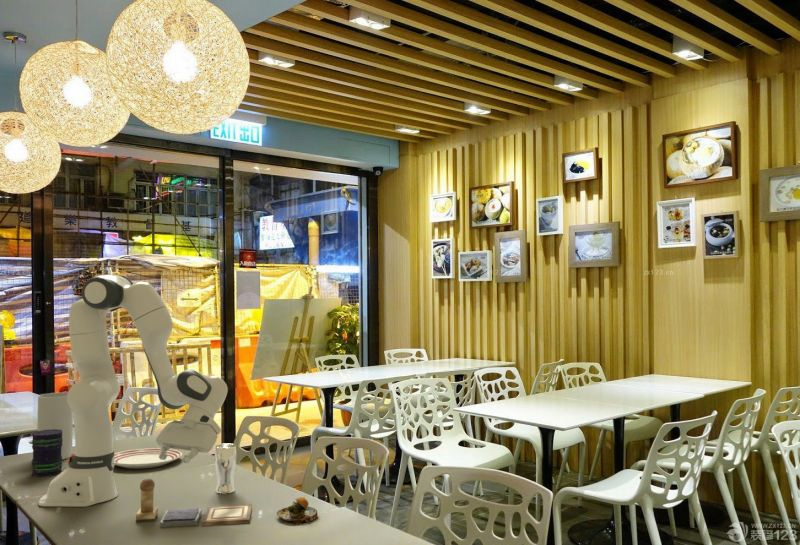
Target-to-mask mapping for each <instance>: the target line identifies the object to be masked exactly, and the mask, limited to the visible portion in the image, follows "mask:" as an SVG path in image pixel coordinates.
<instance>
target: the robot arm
mask: <svg viewBox="0 0 800 545" xmlns="http://www.w3.org/2000/svg"><path fill="white" fill-rule="evenodd" d="M122 308H123V309H124V310H126V312H127V313H128V314H129V316H130V318H131V320H132V323H133V325H134V327H135V328H136V330H137V333H138V336H139V338H140V341H141V345H142V348H143V351H144V355H145V356H146V360H147V362H148V365H149V367H150V369H151V372H152V374H153V378H154V379H155V382H156V386H157V388H156V389H157V396H158V400H159V402H160V403H161V405H163V406H164V407H165V408H166V409H170V410H178V409H181V408H183V407H184V406H186V405H188V408H187V410H186V411H185V413H184V414H183V416H182V418H181V419H180V420H173V421H170V422H168V423H167V424H166V425H165V426H164V427H163V428H162V429H161V430H160V432H159V434H158V435H157V436H156V438H155V441H156V443H157V445H158V446H159V447H160V448H161V453H160V455H159V458H160V459H161V460H165V459H166V458H167V456H168V455H167V454H166V452H167V451H168V450H169V449H173V450H180V451H181V450H182V451H187V452H188V451H189V453H188V454H187V455H186V454H185V455H184V456H183V458H182V460H181V461H182V462H183V464H184V463H185V464H189V463H190V462H191V461H192V459H193V458H195V457H196V456H197V455H198V454H199V453H204V454H207V453H209V452H210V451H212V449H213V448H214V445H215V444H216V442H217V440H218V435H220V433H221V431H222V429H221V427H220V426H219V425H218V423H217V422H216V421H215V420H214V419H215V416H216V414H217V413H218V412H219V411H220V410H221V408H222V406H223V404H224V402H225V400H226V399H227V398H226V397H227V394H228V392H229V391H228V390H229V387H228V385H227V383H226V381H224V379H223V378H221V377H219V376H216V375H205V374H202V373H199V372H198V371H197V370H195V369H185V370H183V371H180V372H179V373H177V374H176V373H175V371H174V368H173V365H172V363H171V360H170V359H169V355H168V353H167V352H168V351H167V345H168V341H169V339H170V335H171V334H172V331H173V328H174V327H173V326H174V323H173V319H172V316H171V314H170V312H169V310H168V307H167V306H166V303H165V302H164V300H163V299H162V297H161V295H160V294H159V292H158V291H157V290H156V288H154V286H153V284H151V283H149V282H148V281H139V282H135V283H133V282H132V280H131V279H129V278H128V277H126V276H124V275H116V274H105V275H96V276H93V277H91V278H89V279H87V281H85V283H84V284H83V286H82V288H81V298H80V299H78V300H76V301H75V302H73V303H71V306H70V308H69V313H68V314H69V316H68V333H69V342H70V351H71V359H72V362H73V363H74V365H75V366H76V368H77V372H78V375H79V378H80V379H79V380H77V381H76V382H75V383H74V384H73V385H72V386H71V388H70V389H69V390H68V391H67V393H68V394H67V402H68V405H69V407H70V408H71V410H72V416H73V425H74V426H73V427H74V439H75V441H74V444H75V445H74V448H75V449H74V452H72V454H71V456H70V457H69V458H67V459H66V460H67V461H66V462H67V465H68V466H67V467H66V468H65V469H63V470H62V472H61V473H60V474H58V475H55V476H54V478H52V480H51V481H50V482H49V485H48V487H47V493H46V494H44V495H43V496H42V497H40V499H39V500H38V505H39V507H77V508H78V507H90V506H92V505H95V504H99V503H103V502H107V501H110V500H113V499H115V498H116V497H117V496H118V495H119V493H118V491H117V487H116V482H115V474H114V473H115V472H114V469H115V465H114V463H115V456H114V453H115V451H114V427H113V424H112V423H111V418H110V414H109V405H110V404H112V403H113V402H115V401H116V399H117V398H118V396H119V395H120V391H121V383H120V381H119V379H118V378H117V376H116V371H115V368H114V365H113V361H112V357H111V352H110V344H109V336H108V327H107V316H108V314H109V312H110V313H111V312H114V311H117V310H119V309H122Z"/></svg>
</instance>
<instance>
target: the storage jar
mask: <svg viewBox="0 0 800 545" xmlns="http://www.w3.org/2000/svg"><path fill="white" fill-rule="evenodd" d="M62 441H63V438H62V430H57V429H52V430H41V431H34V432H32V440H31V449H32V460H31V476H32V477H34V478H35V477H36V478H47V477H55V476H58V475H59V474H60V473H61V472H63V470H62V467H63V460H62V456H61V447H62Z"/></svg>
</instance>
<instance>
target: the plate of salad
mask: <svg viewBox="0 0 800 545" xmlns="http://www.w3.org/2000/svg"><path fill="white" fill-rule="evenodd" d="M307 493H308V492H307V491H306V492H305V494H307ZM295 501H296V502H295ZM295 501H293V502H292V505H289V506H288V507H283V508H282V509H280V510H278V511H277V512H276V515H277V516H278V517H279V518H281V519H282V520H284V521H288V522H289V521H290V522H293V523H294V525H301V524H303V523H302V522H303V521H305V523H310V522H313V521H314V520H315V519H318V510H317V509H316V508H314V507H312V506H309V501H308V500H307V499H306V497H302V496H300V497H299V496H298V497H296V498H295Z"/></svg>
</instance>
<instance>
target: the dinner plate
mask: <svg viewBox="0 0 800 545" xmlns="http://www.w3.org/2000/svg"><path fill="white" fill-rule="evenodd" d="M160 453H161V447H160V448H159V447H158V448H152V447H151V448H150V447H149V448H148V447H147V448H137V449H136V448H135V449H129V450H128V449H127V450H122V451H119V452H114V456H115V463H114V466H118V467H121V468H124V469H132V470H133V469H135V470H136V469H138V470H140V469H151V468H157V467H161V466H165V465H167V464H169V463H171V462H174V461H176V460H178V459H179V458H181V457H182V456H183V452H181V450H180V451H179V450H178V449H172V448H170V449H169V450H168V451H167V452H166V454H167V455H168V456H167V458H166V459H165V460H161V459H160V458H159V455H160Z"/></svg>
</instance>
